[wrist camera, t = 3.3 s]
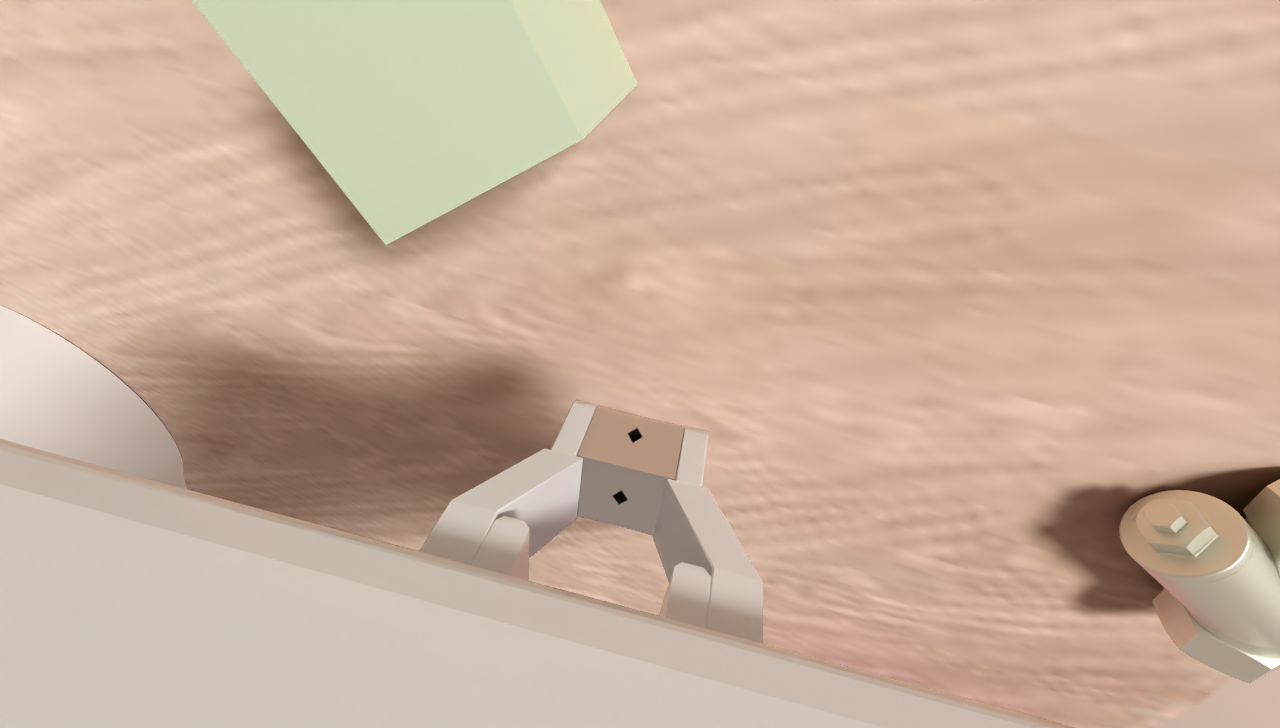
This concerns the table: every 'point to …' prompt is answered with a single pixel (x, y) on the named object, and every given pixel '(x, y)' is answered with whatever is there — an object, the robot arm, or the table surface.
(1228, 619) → the pipe fitting
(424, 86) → the sage block
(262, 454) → the table surface
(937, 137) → the table surface
